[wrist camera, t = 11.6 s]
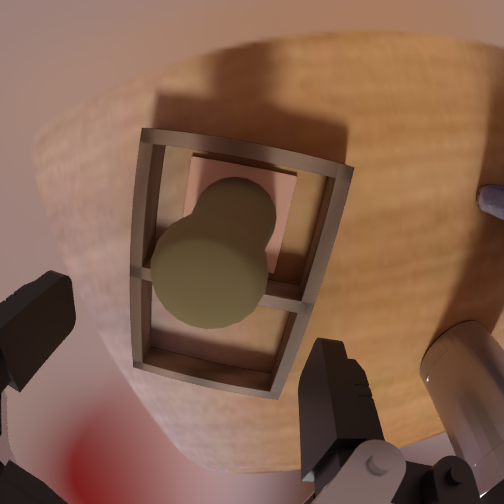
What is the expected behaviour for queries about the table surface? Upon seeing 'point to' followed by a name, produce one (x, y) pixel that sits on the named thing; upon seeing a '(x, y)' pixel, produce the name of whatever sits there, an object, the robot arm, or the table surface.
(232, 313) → the cork
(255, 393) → the caddy
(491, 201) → the flask
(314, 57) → the table surface
